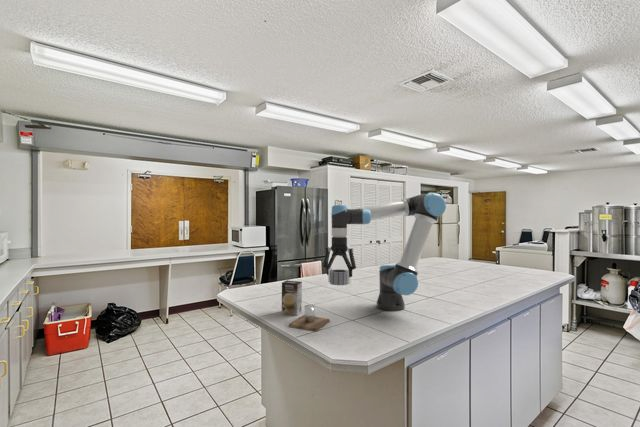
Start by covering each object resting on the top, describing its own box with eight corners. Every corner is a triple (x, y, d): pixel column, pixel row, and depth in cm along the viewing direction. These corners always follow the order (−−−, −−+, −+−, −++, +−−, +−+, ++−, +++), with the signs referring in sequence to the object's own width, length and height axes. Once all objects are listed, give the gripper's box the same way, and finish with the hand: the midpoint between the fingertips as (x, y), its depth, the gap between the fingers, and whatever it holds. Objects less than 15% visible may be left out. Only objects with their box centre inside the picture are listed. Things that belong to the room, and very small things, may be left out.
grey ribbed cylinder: (351, 282, 154) (351, 270, 154) (344, 285, 146) (344, 273, 146) (334, 280, 158) (334, 269, 158) (327, 284, 150) (327, 271, 150)
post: (316, 320, 145) (316, 305, 145) (311, 323, 141) (311, 308, 141) (307, 319, 147) (307, 304, 147) (303, 322, 143) (303, 306, 143)
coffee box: (280, 313, 159) (280, 282, 160) (286, 310, 166) (286, 280, 166) (297, 315, 156) (297, 283, 157) (302, 312, 163) (302, 281, 163)
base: (329, 321, 148) (329, 318, 148) (316, 331, 135) (316, 328, 135) (303, 317, 154) (303, 315, 154) (288, 326, 141) (288, 323, 141)
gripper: (363, 236, 151) (363, 283, 151) (322, 235, 160) (322, 279, 160) (358, 237, 144) (358, 286, 144) (315, 236, 153) (316, 282, 153)
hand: (339, 282), depth 152 cm, fingers closed on grey ribbed cylinder, 9 cm apart
